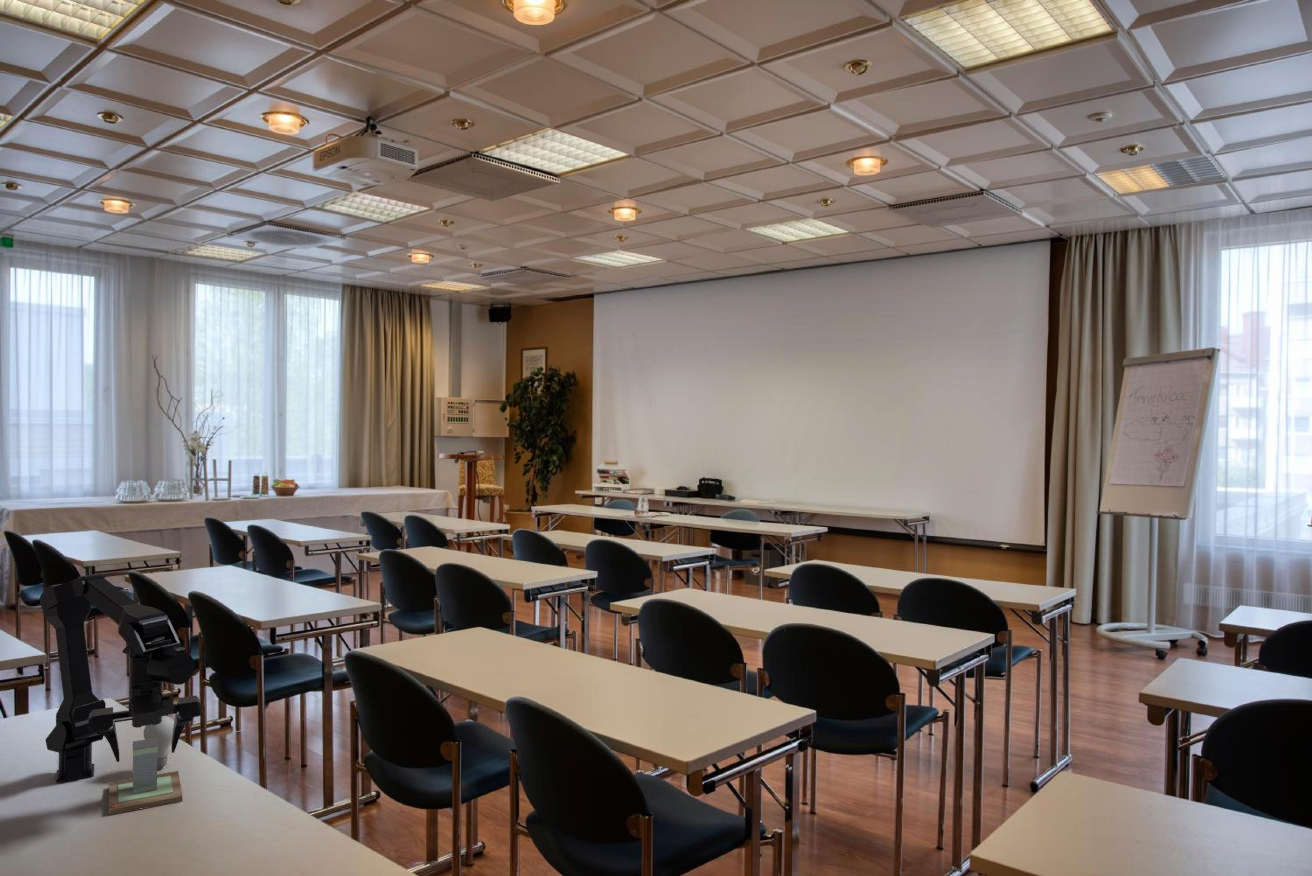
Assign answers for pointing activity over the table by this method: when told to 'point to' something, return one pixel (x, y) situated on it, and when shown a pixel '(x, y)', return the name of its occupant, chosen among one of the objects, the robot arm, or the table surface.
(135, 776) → the column
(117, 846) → the table surface
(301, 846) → the table surface
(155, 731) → the lightbulb
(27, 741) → the table surface
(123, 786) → the stand plate
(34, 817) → the table surface
